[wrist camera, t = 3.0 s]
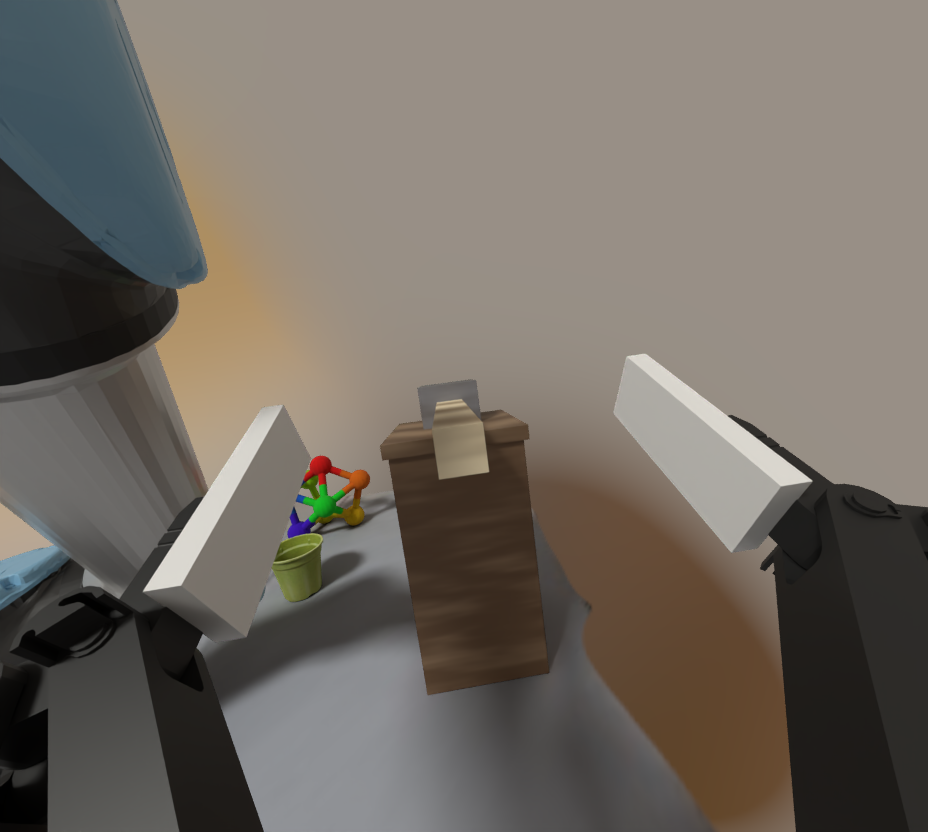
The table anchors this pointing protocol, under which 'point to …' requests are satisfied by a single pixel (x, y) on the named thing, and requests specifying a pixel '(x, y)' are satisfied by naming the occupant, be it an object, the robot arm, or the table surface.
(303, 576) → the plant pot
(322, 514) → the molecular model
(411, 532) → the stand
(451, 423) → the mallet
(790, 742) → the robot arm
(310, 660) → the table surface
